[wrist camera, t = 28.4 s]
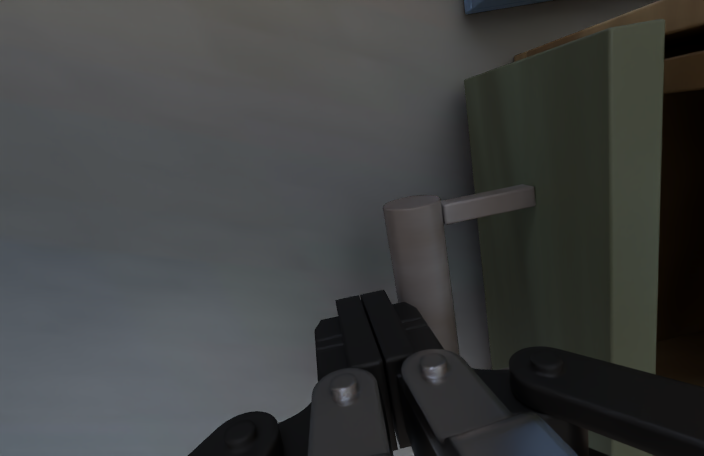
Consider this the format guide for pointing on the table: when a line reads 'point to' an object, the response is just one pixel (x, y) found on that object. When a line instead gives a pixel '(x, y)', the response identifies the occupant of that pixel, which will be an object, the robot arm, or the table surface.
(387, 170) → the table surface
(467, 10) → the tray
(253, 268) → the table surface
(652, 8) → the cabinet
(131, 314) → the table surface
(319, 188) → the table surface
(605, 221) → the drawer
